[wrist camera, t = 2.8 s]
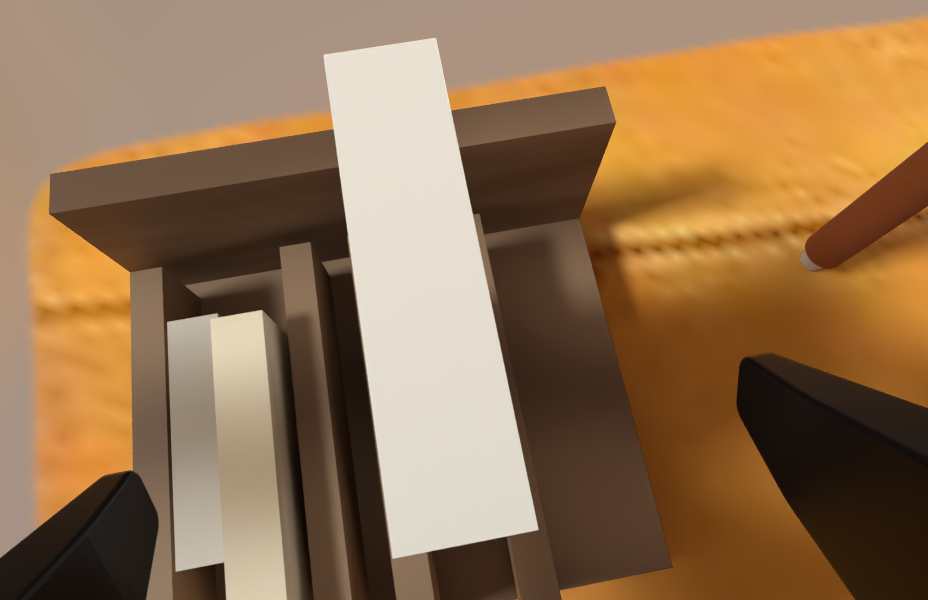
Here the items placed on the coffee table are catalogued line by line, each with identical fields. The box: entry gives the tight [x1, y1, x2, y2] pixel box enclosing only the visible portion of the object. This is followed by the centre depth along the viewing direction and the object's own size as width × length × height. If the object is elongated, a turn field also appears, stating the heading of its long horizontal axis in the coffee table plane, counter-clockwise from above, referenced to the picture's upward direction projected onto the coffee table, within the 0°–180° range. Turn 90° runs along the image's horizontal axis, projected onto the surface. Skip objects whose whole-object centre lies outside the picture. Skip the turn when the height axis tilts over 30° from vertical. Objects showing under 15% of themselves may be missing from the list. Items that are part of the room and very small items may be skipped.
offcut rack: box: [49, 86, 673, 600], centre depth 16 cm, size 11×13×6 cm
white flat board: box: [324, 38, 539, 559], centre depth 12 cm, size 5×1×12 cm, turn 10°
